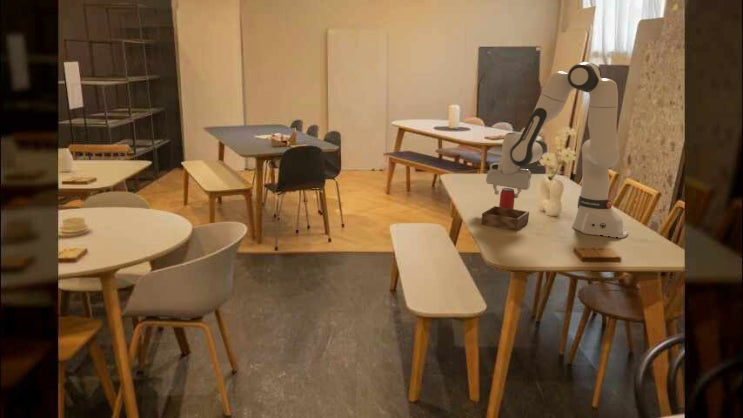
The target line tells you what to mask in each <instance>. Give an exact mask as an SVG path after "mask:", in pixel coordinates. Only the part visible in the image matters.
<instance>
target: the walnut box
mask: <svg viewBox="0 0 743 418" xmlns="http://www.w3.org/2000/svg"><path fill="white" fill-rule="evenodd" d="M529 216H530V211H525V210H521V209H509V208H503V207H499V206H496V205H495V206H493V207H491V208H490V209H489V208H488V210H486V211H484V212H482V214H481V225H483V226H488V227H493V228H499V229H505V230H509V231H515V232H518V231H519V230H520V229H522V228H523V227H524V226H526V225H527V224H529V218H530V217H529Z"/></svg>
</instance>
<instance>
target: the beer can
mask: <svg viewBox="0 0 743 418" xmlns="http://www.w3.org/2000/svg"><path fill="white" fill-rule="evenodd" d="M499 194H500V196H499V205H498V207H503V208H509V209H514V208H515V199H516V198H514V194H516V193H515V188H511V187H502V188H501V191H500V193H499Z"/></svg>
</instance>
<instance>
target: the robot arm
mask: <svg viewBox="0 0 743 418" xmlns="http://www.w3.org/2000/svg"><path fill="white" fill-rule="evenodd" d="M574 90H578V91H582V92H583V93H584V92H585V93H588V94H589V101H588V103H589V104H588V106H589V107H588V117H587V127H588V133H589V139H587V140H585V141H584V143H583V144H582V146H581V155H582V156H581V157H582V158H581V159H582V161H581V163H582V164H581V169H582V175H581V176H582V179H581V188H580V195H579V196H578V199H577V213H576V215H575V219H574V222H573V223H572V226H571V227H572V228H573V229H574V230H576V231H579V232H581V234H586V235H593V236H600V235H603V237H608V236H610V237H609V238H616V237H618V239H623V238H625V237H627V236H628V235H629V231H628V229H627V228H624V220H623V218H622V216H621V215H619V214H618V213H617V212H616V211H615V210H614V209H613V208H612V207H613V200H610V199H609V198H608V197H609V192H610V191H609V190H610V184H611V178H610V174H609V173H610V172H609V170H610V169H609V168H613V167H615V166H616V165H617V164H618V163H619V161H620V159H621V156H620V151H619V141H618V131H617V122H618V121H617V120H618V109H619V91H618V84H617V82H616V81H614V80H613V79H610V78H604V77H603V78H602V72H601V69H600V68H599V66H598V65H597V64H595V63H593V62H588V61H582V62H579V63H576V64H574V65H573V66H571V68H569V70H568V72H565V71H558V70H557V71H554V72H553V73H552V74H551V75H550V76H549V78H548V79H547V81H546V83H545V85H544V87H543V88H542V91H541V93H540V95H539V98H538V99H537V100H538V101H537V102H536V104H535V105H536V106H535V107H534V109H533V112H532V114H531V115H530V117H529V119H528V122H527V124H525V127H524V129H523V131H522V132H521V131H520V132H519V131H515V132H513V131H512V132H507V133H506V134H505V135H504V137H503V140H502V148H501V153H502V155H501V157H500V161H497V162H494V163H491V164H490V165H489V170H488V171H487V174H486V178H485V182H486V184H487V185H492V188H493V191H494V195H499V194H500V193H499V192H500V190H498V188H497V187H498V186H500V187H504V188H511V189H517V192H516V193H515V194H514V198H515V199H518V198H519V195H520V194H521V192H522V190H523V191H527V190H529V189H530V187H531V178H532V172H531V170H529V169H528V168H527V169H525V168H520V167H525V166H527V165H529V164H533V163H536V162H538V161H539V160H541V159H542V157H543V155H544V149H543V147H542V145H541V144H540V143H539V142H537V138H538V136H539V135H540V132H541V130H542V129H543V127H544V126H545V125H546V124H548V123H549V122H551V121H552V120H553V119H555V118H557V117H558V116H559V115H560V113H561V112H562V110H563V109H564V107H565V105H566V103H567V100H568V99H569V97H570V94H571V92H572V91H574Z"/></svg>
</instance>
